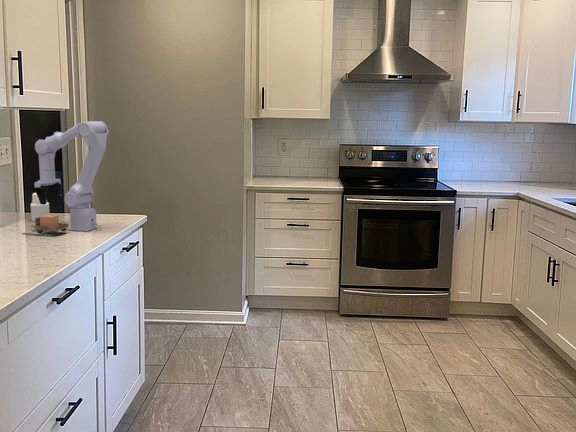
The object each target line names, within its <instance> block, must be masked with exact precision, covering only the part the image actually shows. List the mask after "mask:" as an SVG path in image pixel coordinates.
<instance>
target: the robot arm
mask: <svg viewBox="0 0 576 432" xmlns="http://www.w3.org/2000/svg"><path fill="white" fill-rule="evenodd" d="M108 135H109V128H108V126H107V124H106V123H105V122H104V121H102V120H99V121H98V120H97V121H95V120H94V121H89V120H83V121H81V122H78V123H77V124H76V125H74V126H72V127H71V128H69V129H68V130H65V132H62V131H61V132H60V131H55V132H53V135H51V136H46V137H45V139H38V140H36V142H35V144H34V149H35V152H36V153H37V154H38V165H39V179H38V180H37V181H35V182H34V186H33V191H35V192H36V194H37V196H38V198H39V201H40V204H43V205H45V204H46V201H47V202H48V191H49V193H50V194H49V195H50V200H51V202H52V203H53V202H54V203H57V202H58V200H59V195H60V191H61V189H62V188H63V184H62V183H61V178H56V167H55V157H56V152H57V151H58V150H60V149H62V148H63V147H65V146H67V145H68V144H69V141H71V140H73V139H75V138H78V137H80V136H81V138H82V139H83V140H84V143H86V145H87V146H88V147H89V149H88V152H87V155H86V157H85V159H84V162H83V164H82V166H81V167H82V168H81V170H80V172H79V175H78V178H77V181H76V182H75V183H74V184H73V185H72V186H70V188H69V190H68V192H66V193H65V196H64V202H65V204H66V206H67V207H68V208H69V217H70V227H68V228H66V231H79V232H81V231H82V232H88V231H91V230H94V229H98V227H99V226H97V211H96V209H95V208H93V207H91V204H92V202H93V198H94V196H93V195H94V189H93V187H92V185H93V182H94V180H95V177H96V175H97V173H98V170H99V168H100V165H101V162H102V160H103V157H104V155H105V151H106V149H107V137H108Z"/></svg>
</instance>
